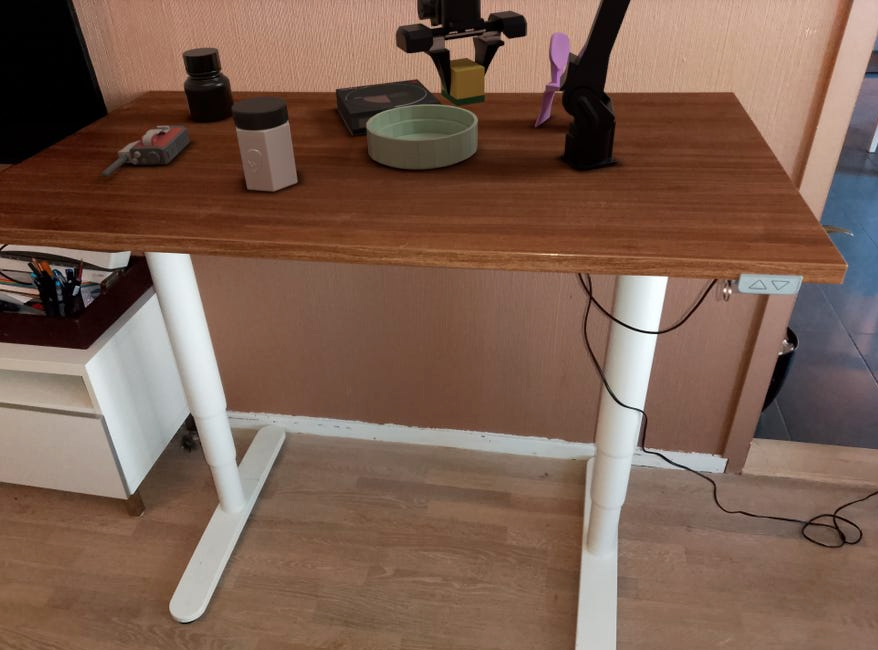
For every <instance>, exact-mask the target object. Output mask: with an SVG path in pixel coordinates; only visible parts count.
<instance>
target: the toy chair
mask: <svg viewBox="0 0 878 650" xmlns="http://www.w3.org/2000/svg"><path fill="white" fill-rule="evenodd" d="M570 52H571V41H570V38H569V36H568V35H567V34H565V33H564V32H560V31H557V32H555V33H552V34H551V36H550V40H549V49H548V59H549V63H550V79H551V81H549V82H548V83H546V84H545V89H544V90H543V93H542V96H541V104H540V105H541V106H540V110H539V114H538V116H537V119H536V122H535V124H534V128H538V127H539V126H540V125H542V124H543V123H544V122H545V121H547V120H548V119H550V117H551V109H552V104H553V101H554V97H555V93H556V92H561V93H562V91H560V77H561V75H562V74H563V73H564V70H565V69H564V68H566V66H567V60H568V55H569V53H570Z"/></svg>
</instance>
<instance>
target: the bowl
mask: <svg viewBox="0 0 878 650" xmlns="http://www.w3.org/2000/svg"><path fill="white" fill-rule="evenodd" d="M366 128H367V134H366V141H367V153H368V156H369V157H370V158H371V159H372V160H373V161H375V162H377V163H379V164H381V165H384V166H388V167H392V168H396V169H403V170H433V169H440V168H444V167H449V166H452V165H455V164H458V163H460V162H463V161H465V160H467V159H469V158H471V157H472V156H473V155H474V154H475V153H476V152H477V150H478V146H479V119H478V117H477V115H476V114H475V113H474V112H472V111H471V110H469V109H465V108H463V107H460V106H453V105H447V104H446V105H445V104H441V105H427V104H425V105H411V106H404V107H398V108H394V109H390V110H386V111H383V112H381V113H378V114H376V115H375V116H373V117H371V118H370V119H369V120H368V122H367V123H366Z"/></svg>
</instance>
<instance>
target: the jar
mask: <svg viewBox="0 0 878 650" xmlns="http://www.w3.org/2000/svg"><path fill="white" fill-rule="evenodd" d="M232 113H233V114H232V121H233V123H234V124H233V125H234V126H235V130H236V137H237V142H238V147H239V148H238V149H239V152H240V159H241V163H242V167H243V168H242V169H243V174H244V180H245V184H246V185H245V186H246V189H247V190H249V191H261V192H272V193H273V192H276V191H279V190H282V189H285V188H288V187H290V186H293V185H296V184H297V183H298V176H297V175H298V174H297V167H296V160H295V153H294V146H293V140H292V133H291V127H290V122H289V112H288V104H287V101H286V100H285V99H284V98H282V97H278V96H256V97H250V98H246V99H243V100H240V101H237V102H236V103H234V105H233V106H232Z"/></svg>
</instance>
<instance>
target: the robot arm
mask: <svg viewBox="0 0 878 650" xmlns="http://www.w3.org/2000/svg"><path fill="white" fill-rule="evenodd" d="M631 1H632V0H600V1H599V4H598V7H597V10H596V12H595V15H594V18H593V21H592V24H591V27H590V30H589V32H588V35H587V38H586V41H585V43H584V45H583V46H582V48H581V49H580V51H579V52H578V54H575V53H573V52H571V51H570V53H569V55H568V60H567V65H566V66H565V69H564V70H563V74H562V75H561V77H560V91H562V92H561V105H562V107H563V109H564V111H565V112H566V113H567V114H568V115H569V116H571V117H573V120H570V121H569V122H568V131H567V132H566V133H565V138H564V139H565V140H564V153H561V155H560V158H561V159H563V160H565V161H566V162H567V163H568V164H571V166H573V167H575V168H576V169H578V170H580V171H585V170H589V169H590V170H591V169H596V168H601V167H607V166H612V165H616V164H617V163H618V159H616V158H615V157H613V149H614V142H615V141H614V140H615V132H616V125H617V124H616V123H617V120H616V116H615V115H616V114H615V110H614V109H615V108H614V103H613V99H612V98H611V97H610V96H609V94H607V92H606V91H605V87H606V83H607V76H608V71H609V63H610V58H611V53H612V51H613V48H614V46H615V43H616V40H617V37H618V35H619V33H620V29H621V28H622V25H623V22H624V19H625V16H626V14H627V11H628V9H629V6H630V3H631ZM416 5H417V6H416V7H417V10H416V11H417V16H418V20H419V21H426V20H429V22H430V27H429V26H427V25H425V24H424V23H422V22H419V23H412V24H411V23H410V24H405V25H399V26H398V28H397V29H396V32H395V46H396V47H397V48H398V49H400V50H401V51H402V52H404V53H406V54H418V53H424V54H426V55H428V56H430V58H431V60H432V62H433V64H434V66H435V69H436V71H437V74H438V77H439V79H440V83H441V82H442V85H443V88H444V90H445V93H446V94H447V95H450V88H451V68H450V60H451V50H450V49H449V48H447V47H446V41H452V40H459V39H465V38H472V42H473V47H474V62H476V63H478V64H479V65H481V66H483V67H484V69H485V76H486V75H487V73H488V70H489V67H490V66H491V63H492V61H493V59H494V57H495V56H496V53H498V50H499V48H500V47H504V46H505V43H506V42H505V40H502V39H501V38H502V37H501V36H502V34H503V36H505V38H506V39H508V40H511V39H518V38H525V37H527V36H528V22H527V18H526V17H525V16H524V14H521V13H518V12H515V11H512V10H505V11H497V12H491V13H489V14H488V17H487V20H485V18H483V17H482V0H416ZM438 26H439V27H438ZM431 27H432V28H431Z"/></svg>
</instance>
